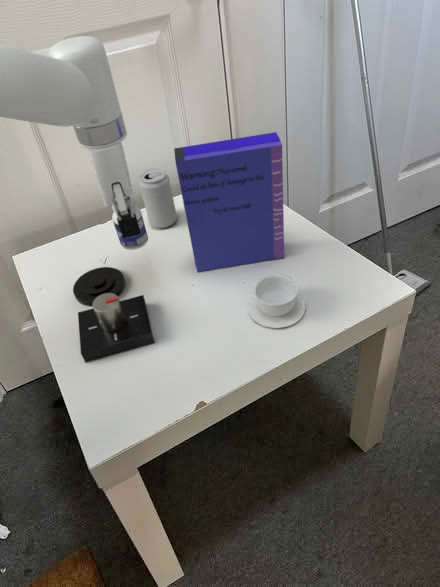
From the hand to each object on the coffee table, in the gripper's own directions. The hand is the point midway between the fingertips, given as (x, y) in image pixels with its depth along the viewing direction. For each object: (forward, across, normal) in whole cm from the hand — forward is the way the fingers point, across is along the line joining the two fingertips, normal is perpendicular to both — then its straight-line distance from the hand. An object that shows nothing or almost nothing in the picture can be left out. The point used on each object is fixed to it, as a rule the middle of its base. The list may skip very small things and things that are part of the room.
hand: (129, 225), depth 83 cm
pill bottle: (+4, 0, 0) cm, 4 cm away
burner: (+12, 0, -9) cm, 15 cm away
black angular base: (+12, +13, -7) cm, 19 cm away
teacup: (+13, +18, +21) cm, 30 cm away
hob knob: (+10, +13, -7) cm, 18 cm away
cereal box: (+13, +2, +19) cm, 23 cm away
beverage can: (+13, -17, +7) cm, 22 cm away
